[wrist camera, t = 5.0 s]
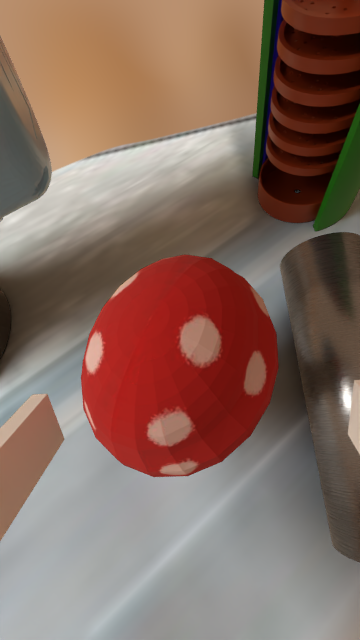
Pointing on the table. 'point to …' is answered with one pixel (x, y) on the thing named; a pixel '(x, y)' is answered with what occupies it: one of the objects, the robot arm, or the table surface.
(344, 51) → the motor
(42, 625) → the table surface
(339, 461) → the metal pipe
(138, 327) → the decorative mushroom
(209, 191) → the table surface
